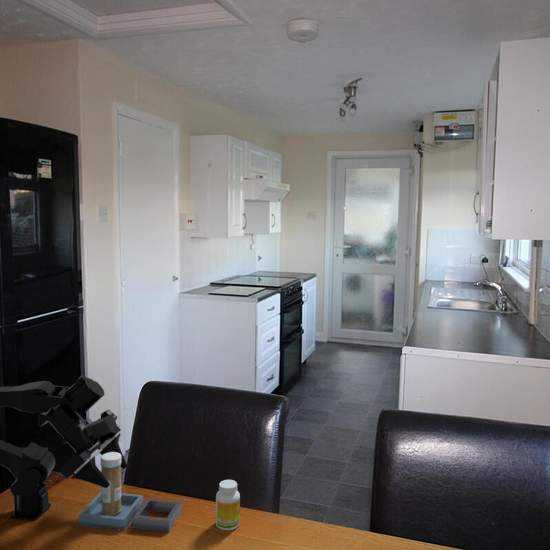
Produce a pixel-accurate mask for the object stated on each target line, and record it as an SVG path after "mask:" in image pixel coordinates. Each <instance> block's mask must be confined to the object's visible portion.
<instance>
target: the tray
mask: <svg viewBox="0 0 550 550" xmlns="http://www.w3.org/2000/svg"><path fill="white" fill-rule="evenodd" d="M143 503H144V495H141V494H133V493H124V492H123V493H122V492H121V507H122V510H121V512H120V513H119V514H117V515H114V516H105V515H103V514H102V492H101V491H99V493H98V494H97V495H96V496H95V497H94V498H93V499H92V500H91V501H90V502H89V504H88V505H87V506H86V507H84V509H83V510H82V511H80V513H79V514H78V526H80V527H86V528H87V527H88V528H89V527H90V528H96V527H97V528H99V529H105V528H110V529H109V530H115V529H120V530H119V531H126V529H127V528H126V527H129V525H130V524H131V522H133V520H132V519H133V517H134V515H135V514H136V513H137V511H138V510H139V509H140V507H141V506H142V505H143ZM129 523H130V524H129Z"/></svg>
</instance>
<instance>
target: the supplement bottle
mask: <svg viewBox="0 0 550 550" xmlns="http://www.w3.org/2000/svg"><path fill="white" fill-rule="evenodd" d="M218 489H219V490H218V491H217V492H216V495H215V525H216V527H217V529H220V530H223V531H232V530H235V529H237V528H239V526H240V521H241V512H240V511H241V510H240V509H241V495H240V494H241V493H240V492H239V490H238V483H237V481H235V480H233V479H225V480H221V481H220V482H219V485H218Z"/></svg>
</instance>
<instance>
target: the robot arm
mask: <svg viewBox="0 0 550 550" xmlns="http://www.w3.org/2000/svg"><path fill="white" fill-rule="evenodd" d="M104 396H105V390H104V389H103V387H102V386H101V384H99V382H98V381H96V380H94V379H92V378H90V377H86V375H84V374H82V375H81V376H79V378H77V380H76V382H75V383H74V384H72V385H71V386H62V385H55V384H53V383H52V382H51V381H48V380H40V381H35V382H34V381H33V382H28V383H24V384H21V385H16V386H0V408H13V409H16V410H17V411H20V412H24V413H31V414H38V422H37V423H38V424H37V426H38V427H43V426H44V425H46V424H48V423H49V424H50V426H52V427H53V429H54V430H55V431H56V432H57V433H58V434H59V435H60V436H61V437H62V439H61V440H60V443H61V445H63V446H64V445H65V444H66V443H67V444H68V445H69V446H70V448H71V449H73V451H74V453H73V455H72V456H71V457H69V459H68V460H67V461H66V462H65V463H63V465H61V466H60V474H61V475H62V476H63V477H64V478H65V480H67V479H69V478H70V477H71V480H74V479H76V480H80V481H84V482H88V483H91V484H94V485H96V486H99V487H100V488H101V487H104V488H107V487H108V486H109V485H110V484H109V482H108V481H107V479H106V478H105V477H104V475H103V474H102V472H101V470H100V469H99V468H98V467H97V464H96V456H95V455H94V456H93V457H92V454H93V453H94V452H96V451H97V450H99V453H98V454H100V455H101V456H102V455H103V454H106V453H109V452H117V453H120V454H121V469H123V470H124V469H125V470H126V468H128V463H127V461H126V459H125V456H124V454H123V452H122V449H121V446H120V445H119V443H120V437H121V433H120V432H121V431H122V429H121V428H120V426H118V424H117V419H118V416H117V415H116V414H115V413H114V412H113V411H112V410H110V409H107V410H104V411H103V412H101V413H100V418H98V419H96V420H95V421H93V420H92V419H91V418H88V417H87V418H85V419H84V418H83V417H82V416H81V415H80V414H81V413H84V414H85V413H88V412H89V410H90V409H91V408H92V407H93V406H94V405H95V404H96V403H98V402H99V401H100V400H101V399H102V398H103V397H104ZM49 408H50V409H49ZM47 409H49V410H47ZM46 411H47V412H46ZM117 434H118V435H117ZM48 449H49V447H43V446H41V445H39V444H37V443H36V442H30V443H29V445H28V446H27V447H19V446H16V445H14V444H12V443H9V442H7V441H4V440H1V439H0V466H2V467H4V468H6V469H8V470H9V472H10V473H11V474H12V476H13V477H14V478H15V480H14V482H13V483H12V484H11V485H10V487H9V489H10V492H11V494H12V496H13V502H14V503H13V504H14V505H13V506H14V507H13V508H14V510H13V512H11V513H10V515H9V517H10V518H13V519H14V518H15V519H22V520H23V519H24V520H31V521H36V520H37V519H39V518H40V517H41V516H42V515H43V514H44V513H45V512H46V511H47V510H48V509H49V508H50V507H51V506H52V503H50V502H49V491H48V490H47V483H45V482H46V480H47V479H48V477H49V476H50V474H51V472H52V471H53V470H54V469H55V466H56V458H55V457H54V454H53V453H52V452H51V451H49V450H48Z"/></svg>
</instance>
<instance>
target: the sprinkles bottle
mask: <svg viewBox="0 0 550 550" xmlns="http://www.w3.org/2000/svg"><path fill="white" fill-rule="evenodd" d="M100 469H101V470H100V471H101V473H102V474H103V475H104V477H105V478H106V479H107V481H108V482H109V484H110V485H109V486H108V487H107V488H104V487H101V486H100V488H101V491H100V492H102V514H103V515H105V516H114V515H117V514H119V513H120V512H121V510H122V507H121V493H122V472H121V469H122V468H121V454H120V453H117V452H109V453H106V454H103V455H101V456H100Z"/></svg>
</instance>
